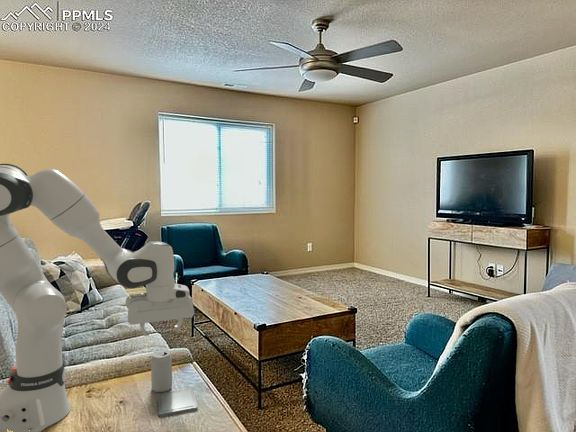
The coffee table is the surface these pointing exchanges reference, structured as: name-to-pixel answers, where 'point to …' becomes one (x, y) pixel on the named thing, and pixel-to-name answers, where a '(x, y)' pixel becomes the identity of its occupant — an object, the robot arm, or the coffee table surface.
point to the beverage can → (161, 370)
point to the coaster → (176, 402)
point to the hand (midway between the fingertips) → (162, 333)
